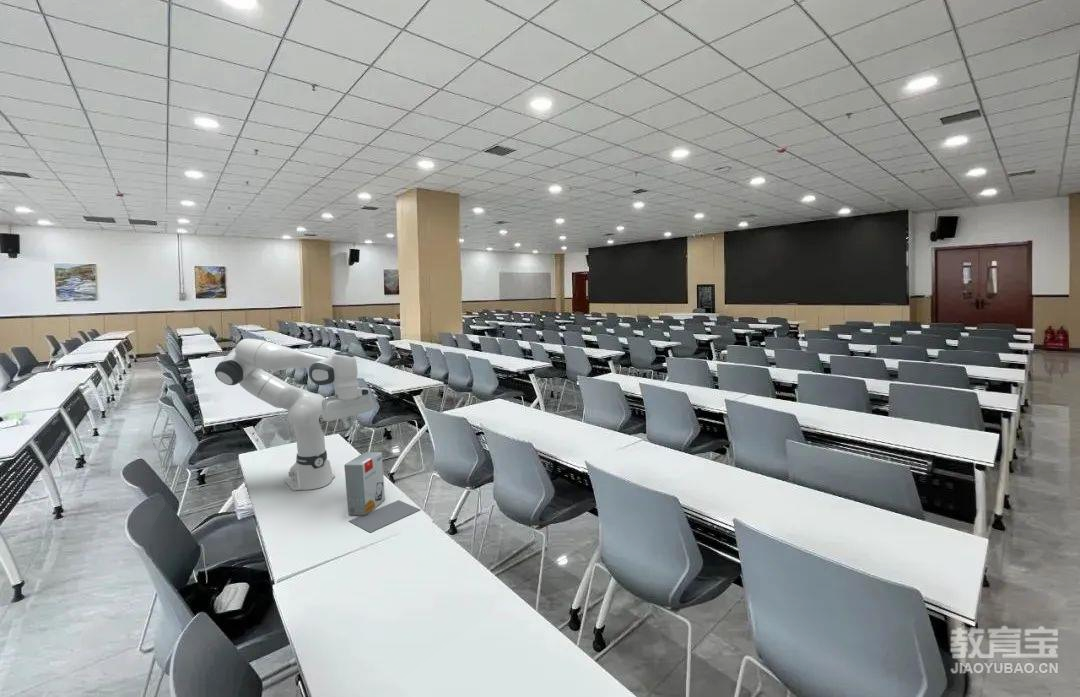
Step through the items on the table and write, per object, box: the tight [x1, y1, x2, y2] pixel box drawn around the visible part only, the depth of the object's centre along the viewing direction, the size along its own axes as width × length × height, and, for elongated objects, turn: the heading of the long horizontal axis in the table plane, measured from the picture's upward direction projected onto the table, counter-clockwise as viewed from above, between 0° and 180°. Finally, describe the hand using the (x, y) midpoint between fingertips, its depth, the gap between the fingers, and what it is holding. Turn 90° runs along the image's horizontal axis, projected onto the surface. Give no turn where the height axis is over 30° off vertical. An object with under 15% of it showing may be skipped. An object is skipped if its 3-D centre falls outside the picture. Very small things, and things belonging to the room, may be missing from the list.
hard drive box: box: [343, 451, 386, 516], centre depth 198 cm, size 16×8×20 cm, turn 168°
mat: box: [348, 499, 421, 534], centre depth 192 cm, size 14×22×1 cm, turn 141°
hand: (349, 426), depth 200 cm, fingers closed
